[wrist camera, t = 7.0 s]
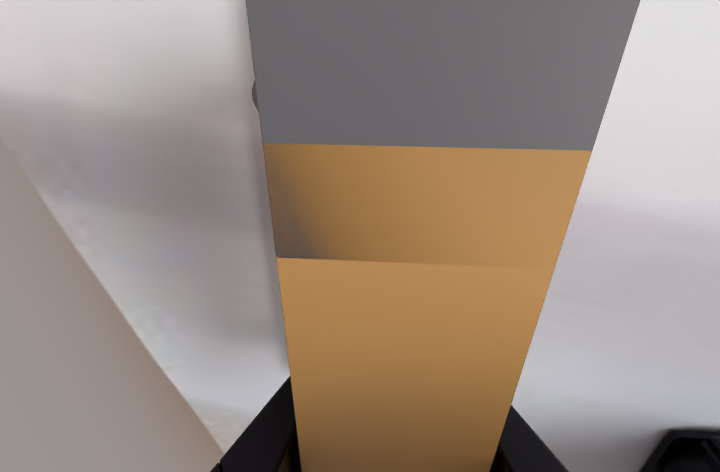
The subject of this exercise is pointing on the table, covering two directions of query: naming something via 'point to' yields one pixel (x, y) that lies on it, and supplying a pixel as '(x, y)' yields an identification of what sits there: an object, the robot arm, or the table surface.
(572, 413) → the table surface
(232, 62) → the table surface
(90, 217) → the table surface
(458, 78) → the bar
